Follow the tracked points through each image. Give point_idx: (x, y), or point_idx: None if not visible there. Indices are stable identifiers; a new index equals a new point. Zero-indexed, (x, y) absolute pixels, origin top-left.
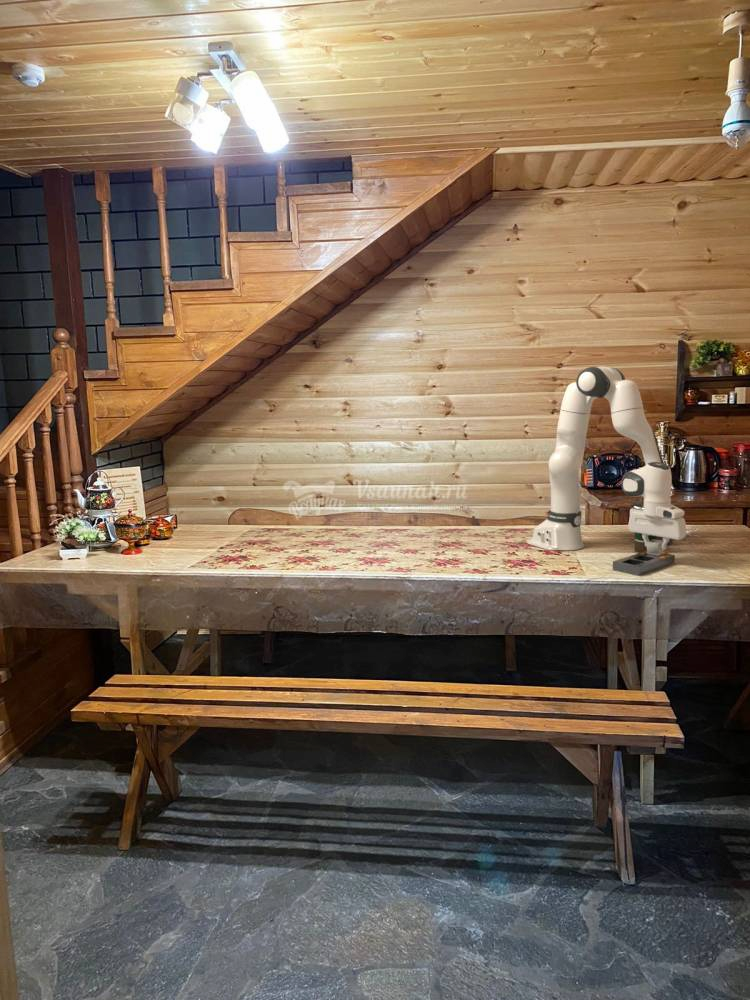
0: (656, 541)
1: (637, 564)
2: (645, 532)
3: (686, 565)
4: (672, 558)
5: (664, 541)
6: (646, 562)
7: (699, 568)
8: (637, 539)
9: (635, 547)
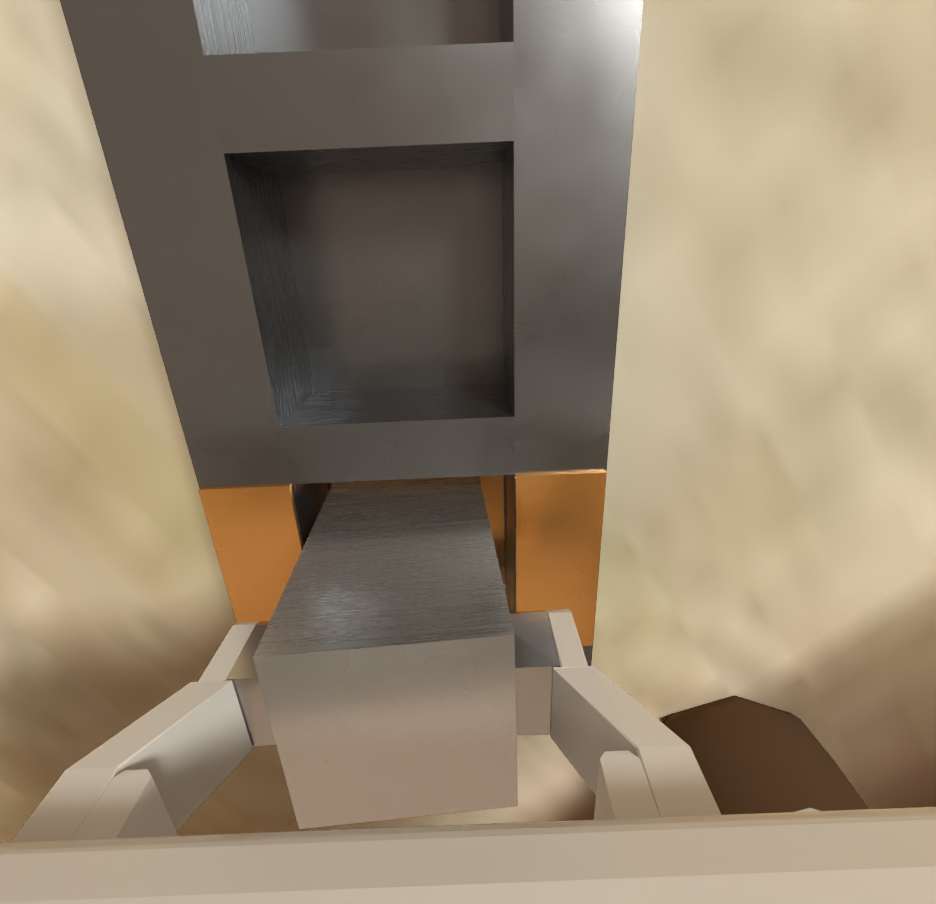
0: (366, 733)
1: None
2: (616, 874)
3: None
4: None
5: (122, 748)
6: (160, 56)
7: (83, 649)
8: None
9: (809, 744)
